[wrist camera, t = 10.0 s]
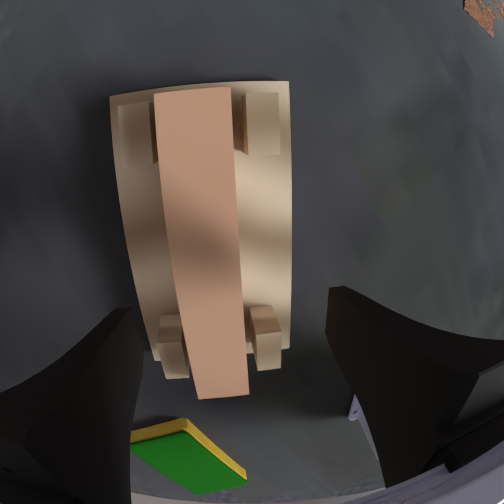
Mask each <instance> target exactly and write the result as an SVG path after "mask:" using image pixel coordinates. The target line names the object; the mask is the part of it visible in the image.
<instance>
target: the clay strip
mask: <svg viewBox="0 0 504 504" xmlns="http://www.w3.org/2000/svg"><path fill="white" fill-rule="evenodd" d="M154 106H155V122H156V136H157V149H158V160H159V170H160V180H161V189H162V198H163V207H164V215H165V222H166V230H167V237H168V244H169V251H170V258H171V264H172V270H173V276H174V282H175V288H176V294H177V300H178V305H179V311H180V316H181V321H182V326H183V331H184V336H185V341H186V346H187V351H188V355H189V360H190V365H191V369H192V374H193V378H194V382H195V386H196V391H197V395H198V399H209V398H221V397H231V396H240V395H249V383H248V369H247V355H246V341H245V327H244V312H243V297H242V282H241V266H240V251H239V234H238V217H237V200H236V182H235V164H234V145H233V126H232V105H231V87H215V88H202V89H190V90H181V91H172V92H164V93H156V94H154Z"/></svg>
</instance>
